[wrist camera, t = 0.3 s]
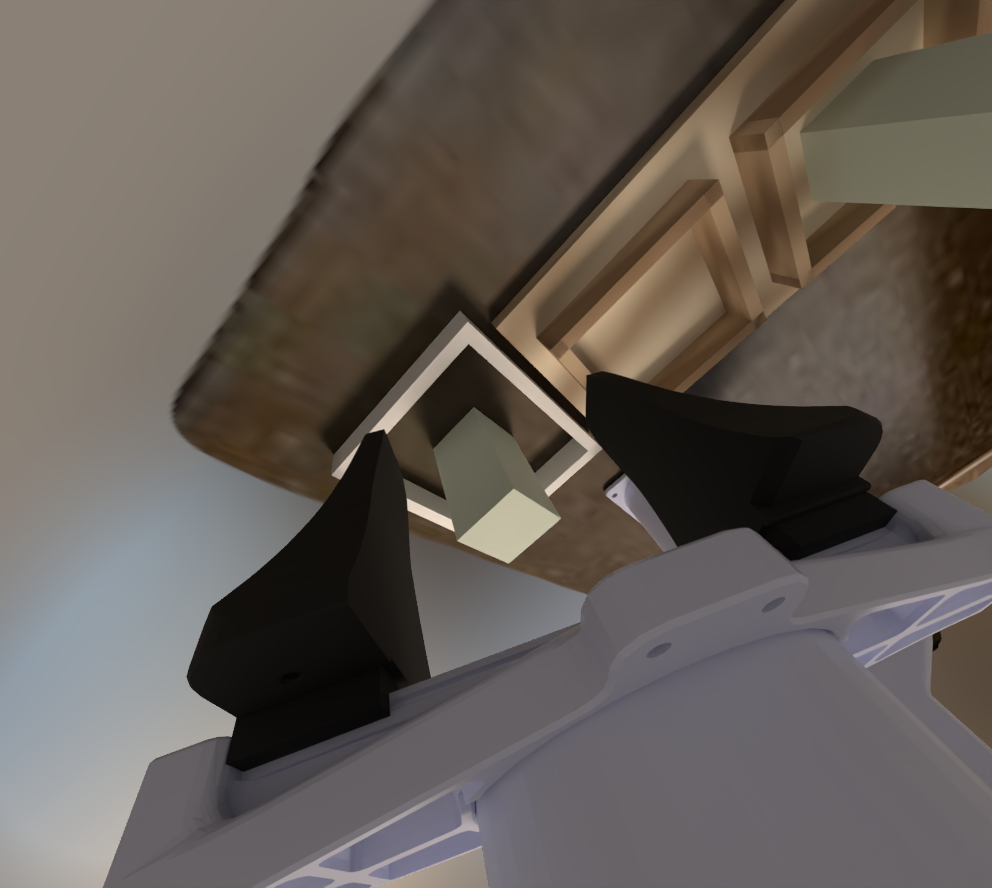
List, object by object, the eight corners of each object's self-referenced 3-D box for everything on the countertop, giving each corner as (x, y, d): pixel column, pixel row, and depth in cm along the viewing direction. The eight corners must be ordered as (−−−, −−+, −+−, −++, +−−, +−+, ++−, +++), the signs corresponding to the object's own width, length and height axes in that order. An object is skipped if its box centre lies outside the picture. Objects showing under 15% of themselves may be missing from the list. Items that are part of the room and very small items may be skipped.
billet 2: (877, 139, 20) (1112, 120, 14) (811, 200, 21) (1002, 209, 15) (873, 60, 18) (1153, -7, 11) (799, 133, 19) (1020, 108, 12)
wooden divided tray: (932, 154, 23) (998, 151, 20) (610, 441, 29) (631, 464, 26) (945, -177, 14) (1058, -246, 12) (491, 322, 21) (507, 341, 18)
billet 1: (513, 437, 26) (560, 518, 20) (474, 474, 27) (508, 563, 20) (473, 406, 23) (513, 488, 17) (433, 449, 24) (457, 541, 18)
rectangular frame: (588, 433, 28) (602, 448, 26) (484, 529, 30) (490, 547, 29) (459, 310, 20) (468, 321, 18) (333, 455, 22) (331, 475, 21)
